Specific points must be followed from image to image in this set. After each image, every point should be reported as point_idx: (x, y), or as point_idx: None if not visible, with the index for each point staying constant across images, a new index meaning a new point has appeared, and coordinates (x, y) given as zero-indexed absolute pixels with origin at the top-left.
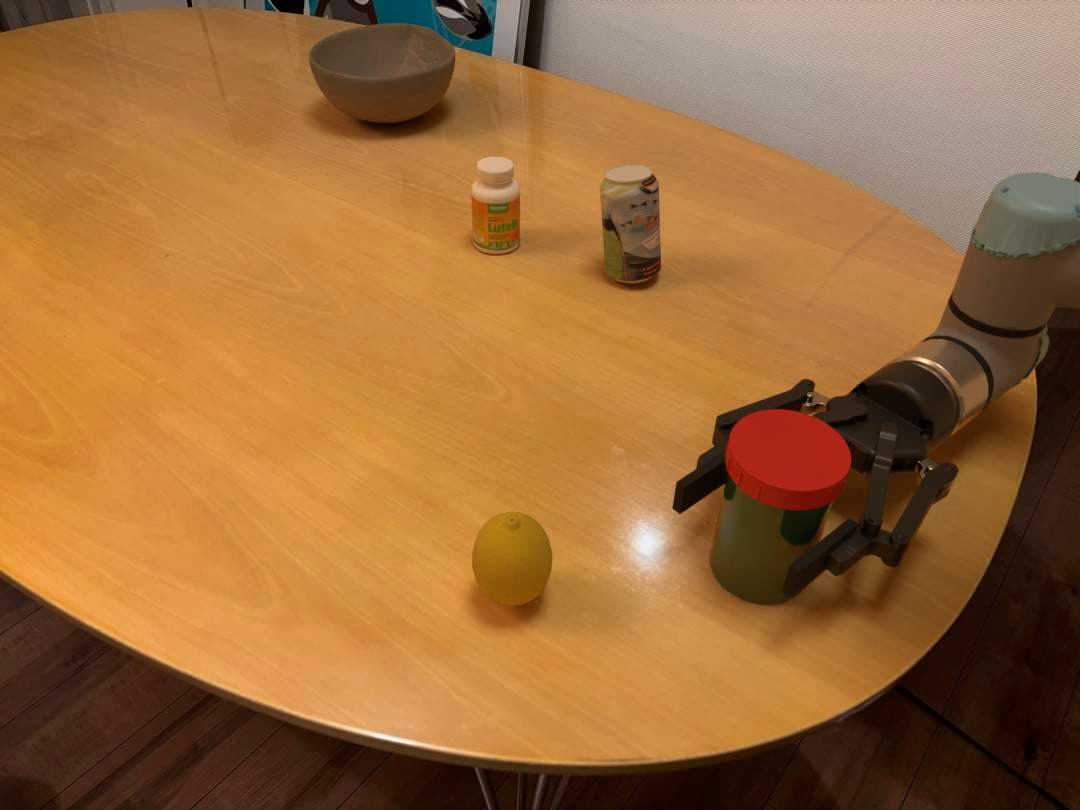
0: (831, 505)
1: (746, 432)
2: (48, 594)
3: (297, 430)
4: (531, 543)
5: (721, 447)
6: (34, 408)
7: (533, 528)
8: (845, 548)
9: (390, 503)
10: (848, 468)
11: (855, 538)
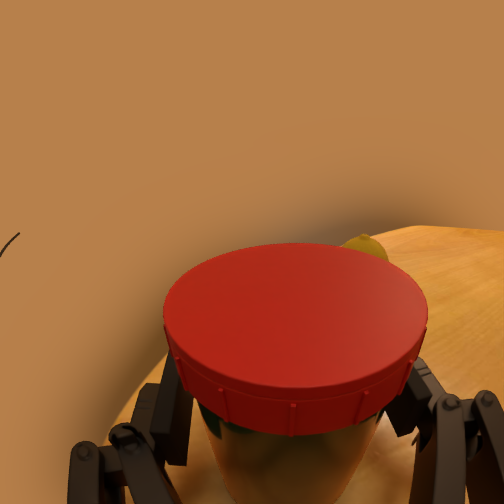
0: (198, 404)
1: (368, 265)
2: (405, 227)
3: (494, 271)
4: (348, 247)
5: (433, 387)
6: (490, 232)
7: (359, 247)
8: (152, 405)
9: (444, 286)
10: (166, 320)
11: (147, 426)
